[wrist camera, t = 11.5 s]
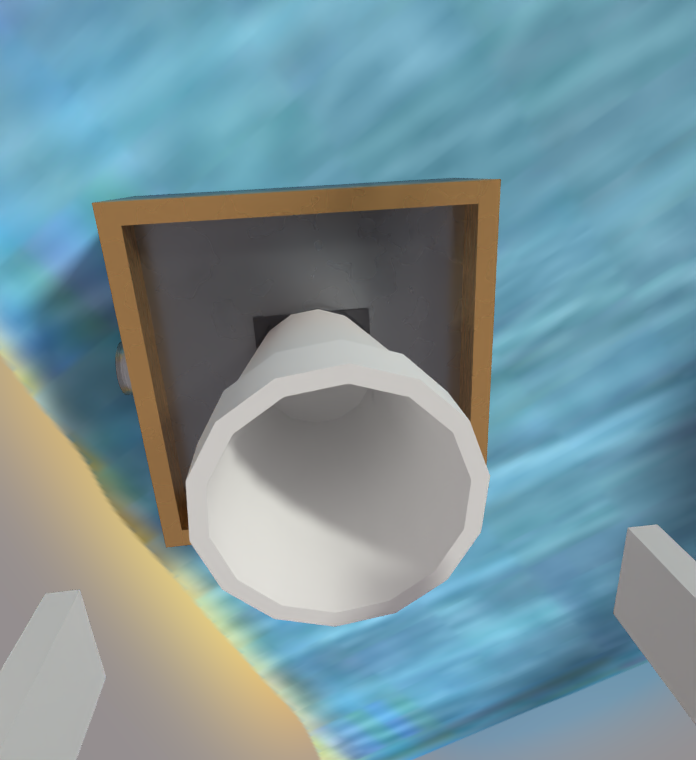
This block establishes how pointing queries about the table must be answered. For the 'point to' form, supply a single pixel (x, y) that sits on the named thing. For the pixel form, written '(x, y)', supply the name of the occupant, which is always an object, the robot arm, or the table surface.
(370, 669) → the table surface
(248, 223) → the wooden drawer tray
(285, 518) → the foam cup
